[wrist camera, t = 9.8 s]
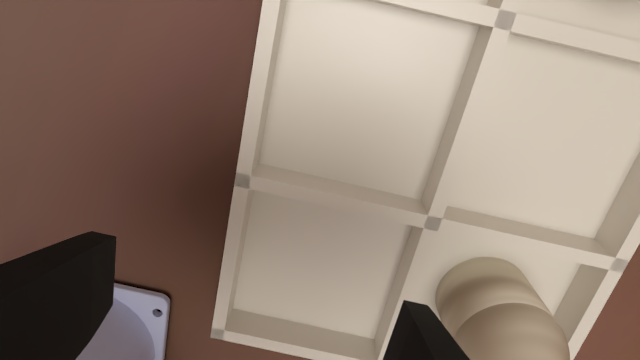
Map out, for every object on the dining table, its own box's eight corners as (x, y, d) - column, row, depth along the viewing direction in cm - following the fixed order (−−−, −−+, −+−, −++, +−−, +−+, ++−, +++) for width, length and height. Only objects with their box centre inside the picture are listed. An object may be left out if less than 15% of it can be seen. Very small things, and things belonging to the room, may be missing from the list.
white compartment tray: (526, 373, 22) (545, 409, 20) (222, 308, 22) (210, 337, 20) (820, -188, 14) (904, -225, 12) (325, -314, 13) (321, -375, 11)
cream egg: (508, 341, 21) (563, 446, 16) (423, 323, 21) (450, 423, 16) (543, 267, 19) (616, 358, 14) (452, 247, 19) (491, 331, 14)
